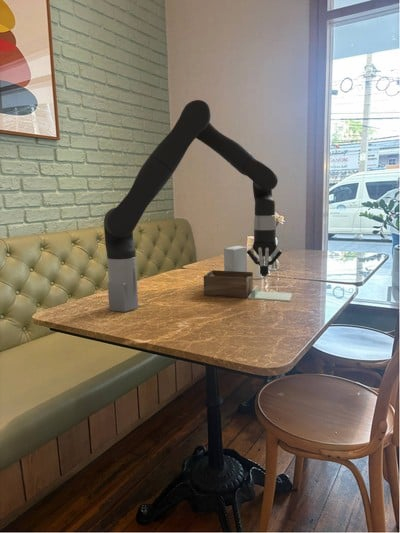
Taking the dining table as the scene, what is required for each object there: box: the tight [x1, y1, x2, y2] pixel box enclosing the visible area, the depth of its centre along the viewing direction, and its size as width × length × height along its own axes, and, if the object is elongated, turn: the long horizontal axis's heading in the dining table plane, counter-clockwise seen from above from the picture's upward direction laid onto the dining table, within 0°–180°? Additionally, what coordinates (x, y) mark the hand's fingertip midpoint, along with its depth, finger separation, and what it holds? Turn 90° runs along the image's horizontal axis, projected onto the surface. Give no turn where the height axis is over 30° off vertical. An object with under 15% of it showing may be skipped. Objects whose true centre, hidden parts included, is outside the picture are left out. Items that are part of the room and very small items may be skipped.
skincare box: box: [223, 245, 248, 272], centre depth 165 cm, size 8×6×15 cm
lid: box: [247, 284, 293, 302], centre depth 142 cm, size 10×15×4 cm, turn 72°
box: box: [203, 269, 254, 299], centre depth 147 cm, size 11×16×7 cm
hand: (264, 275), depth 142 cm, fingers closed
